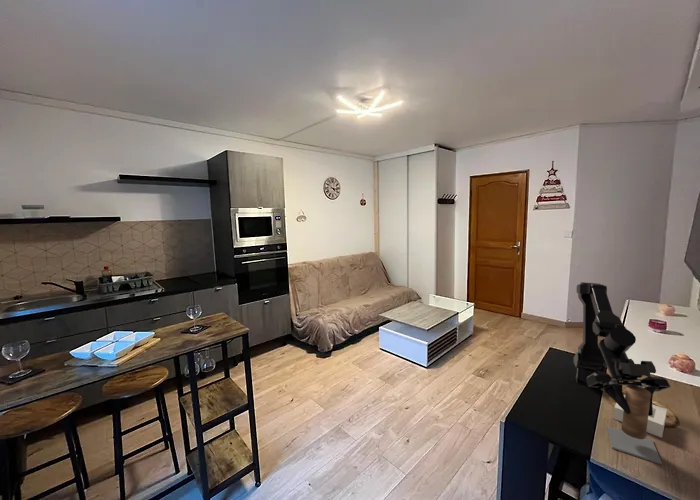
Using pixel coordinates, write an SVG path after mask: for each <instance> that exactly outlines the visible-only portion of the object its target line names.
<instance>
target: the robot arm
mask: <svg viewBox="0 0 700 500" xmlns="http://www.w3.org/2000/svg"><path fill="white" fill-rule="evenodd" d="M576 294H577V298H578V299H579V301H580V302H581V303H582V305H583V306H582V314H583V316H582V317H583V318H582V322H583V323H582V343H581V344H580V345H579V346H578V348H577V352H576V353H575V354H574V356H573V364H574V367H575V368H576V375H575V380H576V384H579V385H583V386H586V387H589V388H593V389H594V388H595V389H599V388H600V387H601V388H600V390H601V391H603V392H604V393H606V394H607V395H608V396H609V397H610V398H612V400H613V401H615V404H616V403H617V404H618V405H619V406H620V407H621V408H622V409H623V410H624V411H625V412H626V413H627V414H630V409H629V406H628V404H627V402H626V399H625V397H624V395H625V394H624V393H623V386H628V385H634V386H639V387H642V388H644V389H646V390H648V391H649V392H650V393H651V398H650V406H649V414H648V415H649V416H652V415H653V407H652V405H653V397H654V394H655V393H656V392H660V391H661V392H662V391H663V390H667V389H669V388H671V384H670V382H669V380H668V379H666V378H665V377H663V376H653V375H652V374H656V373H657V370H656V366H655V365H654V363H653V361H651V360H650V361H649V360H640V363H635V362H634V360H633V359H632V358H629V357H628V354H627V353H626V352H627V351H628V350H629V349H630V348H632V347H633V345H634V344H635V343H636V341H637V339H636V336H635V335H634V334H633V332H632V331H630V330H628V329H627V327H626V325H624V324H623V322H622V319H621V318H620V317H619V316H618V315H616V314H614V312H613V310H612V306H611V303H610V300H609V296H608V286H607V285H604V284H602V283H599V282H598V283H596V282H585V281H584V282H580V283H579V284H577V285H576ZM600 337H601V338H603V339H600V340H599V338H600ZM606 368H607V370H608V372H609V373H607V372H605V369H606ZM651 375H652V376H651ZM644 376H645V377H644ZM642 377H644V378H642ZM640 378H642V379H640Z"/></svg>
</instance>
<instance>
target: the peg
mask: <svg viewBox="0 0 700 500" xmlns="http://www.w3.org/2000/svg"><path fill="white" fill-rule="evenodd" d="M625 386H626V387H625V394H624V395H625V399H626V402H627V404H628V406H629V409H630V414H627V413H626V412H625V411H624V412H623V421H622V422H621V430H622V431H623V432H624V433H626V434H627V435H629V436H631V437H633V438H637V439H645V438H647V432H646V430H647V422H648V414H649V406H650V398H651V393H650V392H649V391H648V390H646V389H644V388H642V387H639V386H634V385H625Z"/></svg>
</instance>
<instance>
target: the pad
mask: <svg viewBox="0 0 700 500" xmlns="http://www.w3.org/2000/svg"><path fill="white" fill-rule="evenodd" d="M606 430H607V434H608V437H609V441H610V446H611V449H613V450H616V451H619V452H620V453H621V452H622V453H624V454H628V455H631V456H634V457H637V458H640V459H643V460H646V461H649V462H653V463H655V464H658V465H662V466H663V462H662V460H661V457H660V455H659V452H658V450H657V448H656V446H655V443H654V441H653V438H649V437H646V438H645V439H637V438H633V437H631V436H629V435H627V434H626V433H624V432H623V431H622V429H619V428H615V427H612V426H609V425H606Z"/></svg>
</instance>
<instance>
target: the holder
mask: <svg viewBox="0 0 700 500" xmlns="http://www.w3.org/2000/svg"><path fill="white" fill-rule="evenodd" d="M623 395H624V397H625V394H623ZM652 407H653V415H652V416H649V415H648V422H647V430H646V433H649V434H651V435H653V436H657V437H659V438H661V439H662V438H663V435H664V429H665V425H666V419H667V414H668V413H667V411H668V409H667V408H663V407H661V406H657V405H654V404H652ZM623 412H624V410H623V409H622V408H621V407H620V406H619V405H618V404H617V403H616V402H615V405H614V407H613V414H612V415H613V416H612V420H615V421H618V422H621V423H622V421H623Z"/></svg>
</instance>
